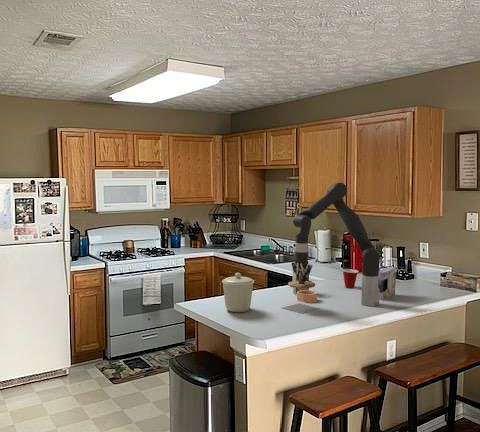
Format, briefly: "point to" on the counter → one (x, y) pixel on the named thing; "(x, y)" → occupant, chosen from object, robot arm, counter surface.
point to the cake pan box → (386, 282)
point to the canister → (237, 293)
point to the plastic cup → (350, 277)
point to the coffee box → (296, 280)
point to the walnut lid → (301, 283)
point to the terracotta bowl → (306, 296)
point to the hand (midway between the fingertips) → (301, 281)
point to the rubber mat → (301, 308)
